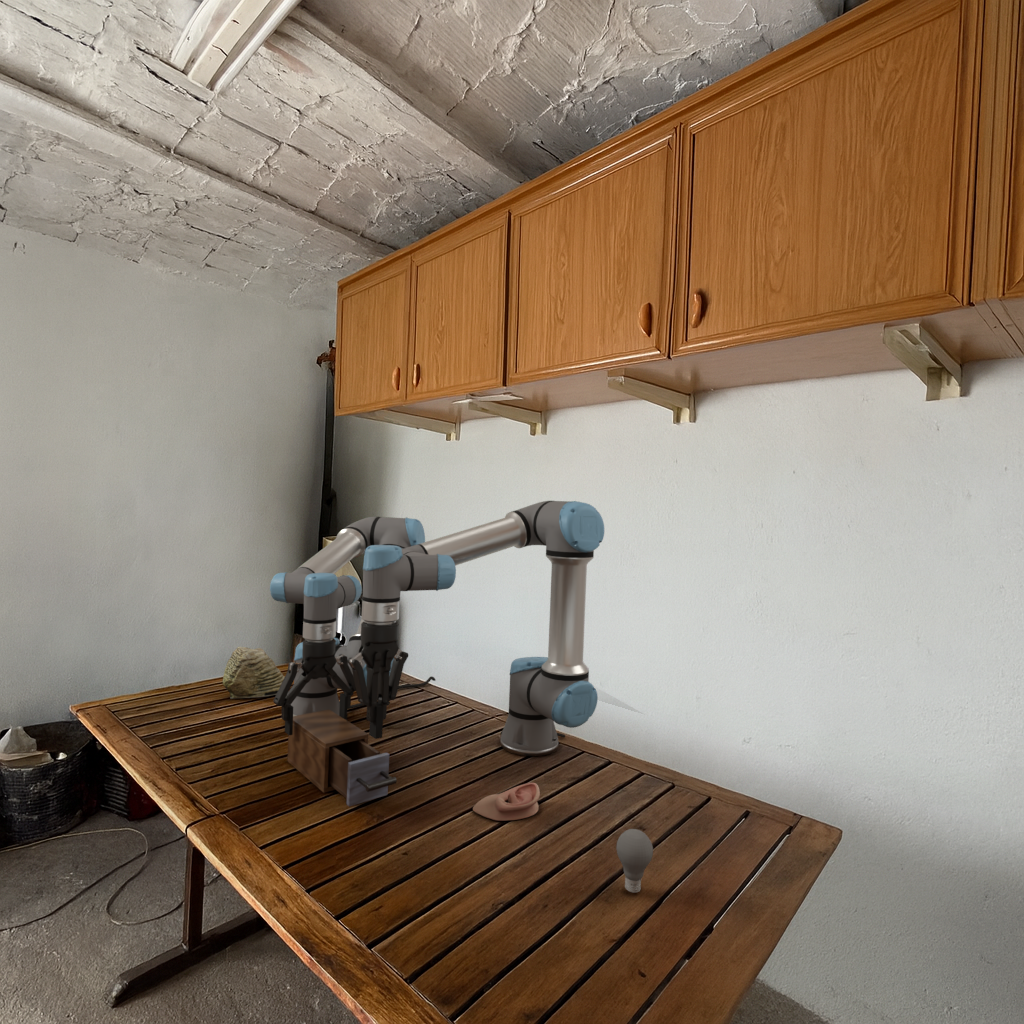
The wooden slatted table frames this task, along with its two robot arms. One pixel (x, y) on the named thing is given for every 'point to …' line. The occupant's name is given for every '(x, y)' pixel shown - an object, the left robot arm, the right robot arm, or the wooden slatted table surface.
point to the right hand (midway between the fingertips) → (375, 736)
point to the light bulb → (634, 857)
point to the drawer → (359, 772)
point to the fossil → (251, 674)
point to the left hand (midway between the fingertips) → (316, 727)
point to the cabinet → (319, 743)
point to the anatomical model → (510, 803)
